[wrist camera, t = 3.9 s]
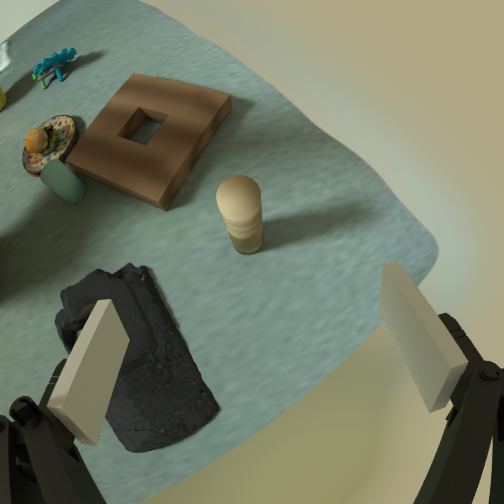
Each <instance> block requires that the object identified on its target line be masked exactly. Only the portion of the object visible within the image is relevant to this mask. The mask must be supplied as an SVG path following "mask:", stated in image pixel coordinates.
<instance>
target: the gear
mask: <svg viewBox="0 0 504 504" xmlns="http://www.w3.org/2000/svg"><path fill="white" fill-rule="evenodd" d="M76 54H77V53H76V50H75V49H74V48H70V49H69V50H68V51H67V48H66V49H63V50H61V54H57V53H56V52H55V53H53V54H51V55H50V56H51V58H44V59H43V60H42V61H41V64H38V65H36V66H35V70H33V72H34V74H32V76H33V79H34V80H36V79H37V78H38V81H41V84H42V87H43V89H45V88H46V85H45V82H44V79H45V78H46V77H48V76H49V75H50V74H52V73H53V72H55V71H56V74H57V76H58V79H59V82H60V81H62V80H64V79H63V76H62V73H61V70H60V67H61V66H60V65H65V64H66V63H67V62H68V61H67V60H71V59H73V58H74V55H76ZM50 69H51V70H50Z"/></svg>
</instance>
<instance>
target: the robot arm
mask: <svg viewBox="0 0 504 504" xmlns="http://www.w3.org/2000/svg"><path fill="white" fill-rule="evenodd" d="M378 310H379V312H380V314H381V316H382V318H383V320H384V322H385V323H386V325H387V327H388V329H389V331H390V333H391V335H392V337H393V339H394V341H395V343H396V345H397V346H398V348H399V351H400V353H401V355H402V357H403V359H404V361H405V362H406V364H407V366H408V369H409V371H410V373H411V375H412V377H413V379H414V381H415V383H416V385H417V387H418V390H419V392H420V394H421V396H422V398H423V400H424V403H425V405H426V407H427V409H428V412H429V413H431V412H433V411H436V410H439V409H442V408H444V407H446V405H447V403H448V401H449V399H451V401H452V403H453V405H454V406H453V407H452V409H451V411H450V412H449V414H448V416H447V417H446V420H448V421H447V424H446V427H445V430H444V433H443V436H442V439H441V441H440V444H439V447H438V449H437V452H436V454H435V457H434V459H433V462H432V464H431V467H430V469H429V472H428V474H427V476H426V478H425V480H424V482H423V485H422V487H421V489H420V491H419V493H418V495H417V497H416V499H415V501H414V503H413V504H472V501H473V499H474V496H475V493H476V490H477V488H478V485H479V482H480V479H481V475H482V472H483V469H484V466H485V462H486V459H487V455H488V451H489V447H490V443H491V439H492V435H493V451H492V452H493V453H492V454H493V455H492V473H491V486H490V496H489V504H504V368H503V369H501V368H500V367H498V366H497V365H496V364H495V363H493V362H491V361H484V360H483V358H482V357H481V355H480V354H479V352H478V351H477V349H476V348H475V347H474V345H473V343H472V342H471V340H470V339H469V338H468V336H466V333H465V332H464V331H463V329H461V327H460V325H459V324H458V322H457V321H456V319H454V318H453V317H451V316H450V315H449V314H447V313H444V314H440V315H437V314H436V312H435V311H434V310H433V308H432V307H431V305H430V304H429V303H428V301H427V300H426V299H425V297H424V296H423V294H422V293H421V292H420V290H419V289H418V288H417V286H416V285H415V284H414V282H413V281H412V280H411V278H410V277H409V276H408V275H407V273H406V272H405V271H404V269H403V268H402V267H401V266H400V264H399V263H398V262H391V263H385V264H383V270H382V280H381V289H380V298H379V306H378ZM129 341H130V339H129V337H128V335H127V333H126V331H125V329H124V327H123V325H122V323H121V321H120V318H119V316H118V314H117V312H116V310H115V307H114V305H113V303H112V301H111V299H107V300H98V301H97V303H96V305H95V307H94V309H93V311H92V312H91V314H90V316H89V318H88V320H87V322H86V324H85V326H84V328H83V330H82V331H81V333H80V335H79V337H78V339H77V341H76V343H75V345H74V347H73V349H72V351H71V353H70V355H69V358H68V359H63V360H62V361H61V362H60V363H59V364H58V366H57V367H56V369H55V371H54V373H53V375H52V377H51V379H50V381H49V384H48V385H47V388H46V390H45V392H44V394H43V396H42V399H41V401H40V403H39V406H37V404H36V403H35V402H34V401H33V400H32V399H31V398H30V397H28V396H22V397H19V398H18V399H16V400H15V401H14V402H13V404H12V405H11V407H10V410H9V415H10V416H11V417H12V418H13V419H14V420H15V421H14V422H11V421H10V420H9V419H8V418H7V417H6V416H3V415H0V504H107V503H106V502H105V500H104V498H103V497H102V495H101V493H100V491H99V490H98V488H97V486H96V484H95V482H94V481H93V479H92V477H91V475H90V473H89V471H88V469H87V467H86V465H85V463H84V461H83V459H82V457H81V455H80V453H79V451H78V449H77V447H76V446H75V444H74V443H73V442H74V439H75V437H76V438H77V439H78V440H79V441H80V442H81V443H82V444H86V445H93V446H97V443H98V440H99V436H100V432H101V429H102V425H103V422H104V418H105V415H106V411H107V408H108V405H109V401H110V398H111V395H112V392H113V389H114V385H115V382H116V379H117V376H118V373H119V370H120V367H121V364H122V361H123V358H124V355H125V352H126V349H127V346H128V343H129ZM16 459H17V465H16Z"/></svg>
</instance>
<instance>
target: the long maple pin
mask: <svg viewBox="0 0 504 504" xmlns="http://www.w3.org/2000/svg"><path fill="white" fill-rule="evenodd" d="M216 199H217V203H218V206H219V208H220V211H221V214H222V216H223V219H224V222H225V224H226V227H227V230H228V232H229V235H230V238H231V240H232V243H233V245H234V248H235V249H236V250H237V251H238V252H239V253H241V254H244V255H252V254H255V253H257V252H258V251H259V250H260V249H261V247H262V245H263V242H264V237H263V222H262V207H261V192H260V188H259V186H258V184H257V183H256V182H255V181H254V180H253V179H251V178H249V177H247V176H241V175H238V176H232V177H230V178H228V179H226V180H224V181H223V182H222V183H221V184H220V186H219V188H218V190H217V193H216Z"/></svg>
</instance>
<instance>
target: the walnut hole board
mask: <svg viewBox="0 0 504 504" xmlns="http://www.w3.org/2000/svg"><path fill="white" fill-rule="evenodd" d="M231 109H232V104H231V98H230V94H226V93H222V92H219V91H215V90H211V89H207V88H203V87H199V86H195V85H191V84H186V83H182V82H177V81H173V80H168V79H163V78H158V77H153V76H147V75H142V74H136V73H133V74H132V75H131V76H130V77H129V79H128V80H127V81H126V82H125V83H124V84H123V85H122V87H121V88H120V89H119V90H118V91H117V92H116V93H115V95H114V96H113V97H112V98H111V99H110V101H109V102H108V103H107V104H106V106H105V107H104V108H103V109H102V111H101V112H100V113H99V114H98V116H97V117H96V118H95V119H94V121H93V122H92V123H91V125H90V126H89V127H88V129H87V130H86V131H85V133H84V134H83V135H82V137H81V138H80V140H79V141H78V142H77V144H76V145H75V147H74V148H73V150H72V151H71V153H70V154H69V155H68V157H67V158H66V160H65V161H66V162H67V163H68V164H69V165H70V166H71V167H72V168H73V169H74V170H76V171H78V172H80V173H82V174H84V175H86V176H89V177H91V178H93V179H95V180H97V181H100V182H102V183H104V184H106V185H108V186H111V187H113V188H115V189H117V190H119V191H122V192H124V193H126V194H128V195H130V196H133V197H135V198H137V199H139V200H141V201H144V202H146V203H148V204H150V205H152V206H154V207H157V208H159V209H161V210H163V211H165V212H166V210H167V209H168V207H169V205H170V204H171V202H172V200H173V198H174V197H175V195H176V193H177V192H178V190H179V189H180V187H181V185H182V184H183V182H184V180H185V179H186V177H187V176H188V174H189V172H190V171H191V169H192V168H193V166H194V164H195V163H196V161H197V160H198V158H199V157H200V155H201V154H202V152H203V151H204V149H205V147H206V146H207V144H208V143H209V141H210V140H211V138H212V137H213V135H214V134H215V132H216V131H217V129H218V128H219V127H220V125H221V124H222V122H223V121H224V119H225V118H226V116H227V115H228V114H229V112H230V111H231ZM145 119H148V120H151V121H155V122H158V123H162V124H161V126H160V127H159V128H158V130H157V131H156V133H155V134H154V135H153V137H152V138H151V140H150V141H149V142H148V144H147V145H146V146H145V145H142V144H139V143H136V142H133V141H130V138H131V137H132V136H133V134H134V133H135V132H136V130H137V129H138V128H139V126H140V125H141V124H142V122H143V121H144V120H145Z"/></svg>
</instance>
